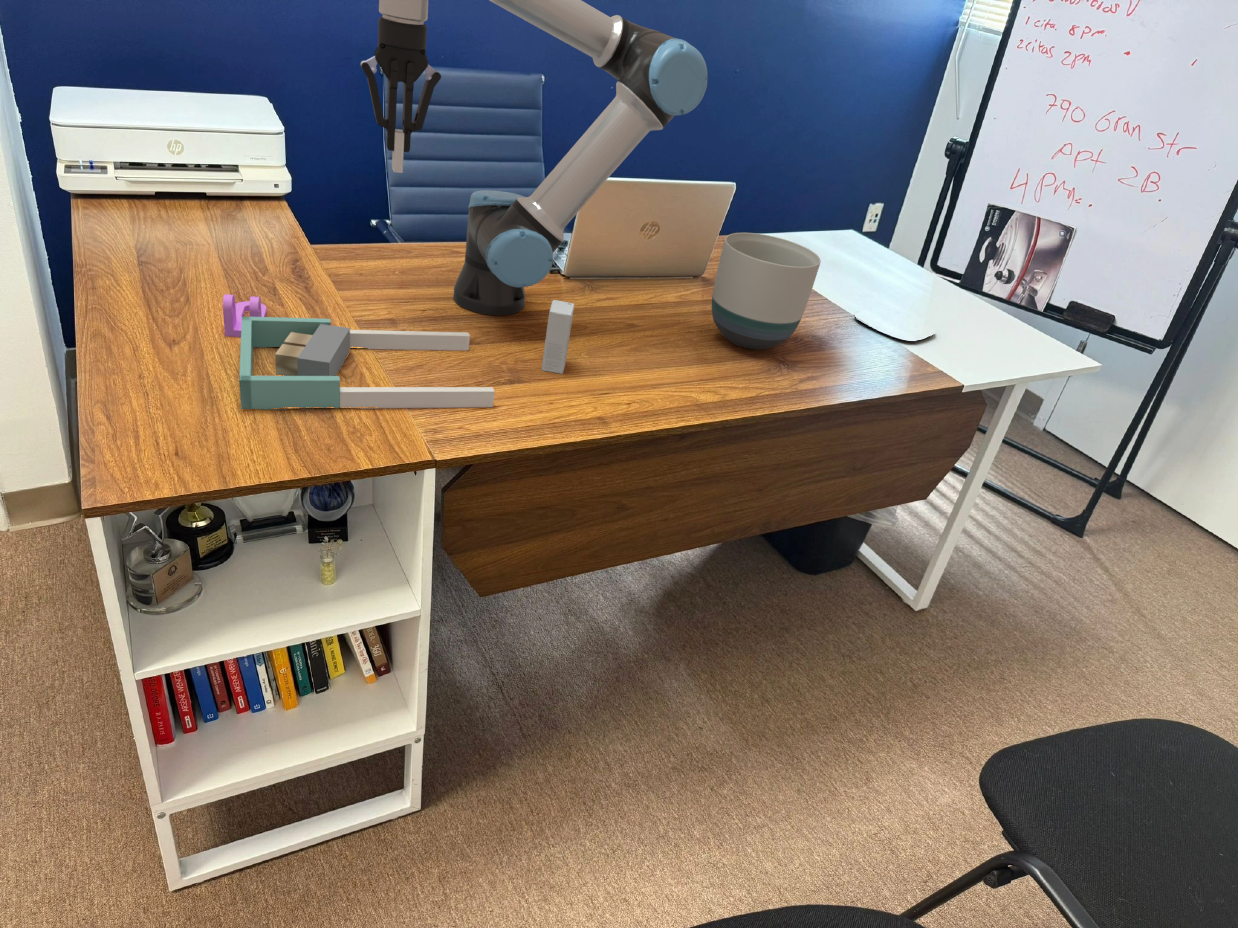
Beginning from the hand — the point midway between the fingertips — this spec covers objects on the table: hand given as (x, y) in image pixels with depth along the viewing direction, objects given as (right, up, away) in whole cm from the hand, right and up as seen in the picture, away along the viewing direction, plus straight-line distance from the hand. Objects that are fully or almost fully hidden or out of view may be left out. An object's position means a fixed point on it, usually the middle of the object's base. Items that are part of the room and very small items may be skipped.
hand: (397, 170), depth 146 cm
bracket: (-29, -26, +6) cm, 39 cm away
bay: (-16, -36, -7) cm, 40 cm away
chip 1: (-16, -33, -2) cm, 37 cm away
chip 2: (-16, -36, -6) cm, 40 cm away
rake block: (-12, -35, -3) cm, 37 cm away
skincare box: (+26, -33, +13) cm, 44 cm away
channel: (+2, -36, 0) cm, 36 cm away
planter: (+67, -24, +40) cm, 82 cm away
